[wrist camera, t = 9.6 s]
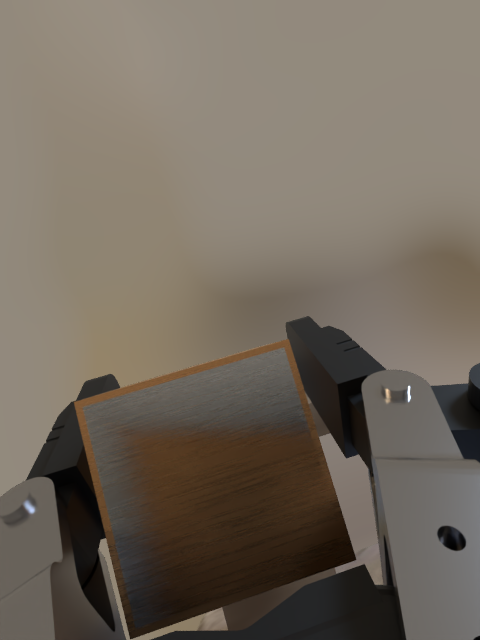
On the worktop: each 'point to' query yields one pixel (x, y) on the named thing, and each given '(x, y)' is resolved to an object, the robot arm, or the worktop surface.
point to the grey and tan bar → (211, 486)
